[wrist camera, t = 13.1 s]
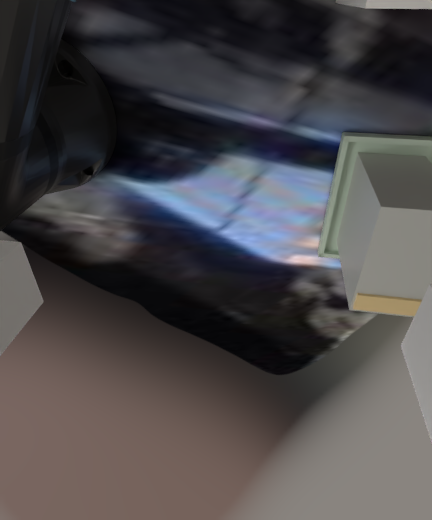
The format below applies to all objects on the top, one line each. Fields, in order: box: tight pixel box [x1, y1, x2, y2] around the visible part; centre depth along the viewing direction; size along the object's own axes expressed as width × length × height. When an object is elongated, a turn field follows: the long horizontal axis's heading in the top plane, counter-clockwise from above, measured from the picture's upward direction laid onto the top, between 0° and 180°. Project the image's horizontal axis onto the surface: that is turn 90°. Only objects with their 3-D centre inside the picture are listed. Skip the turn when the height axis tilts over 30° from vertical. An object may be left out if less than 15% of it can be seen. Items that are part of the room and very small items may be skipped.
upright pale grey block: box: [337, 152, 432, 317], centre depth 32 cm, size 6×10×11 cm, turn 0°
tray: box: [318, 132, 432, 259], centre depth 36 cm, size 10×14×1 cm
